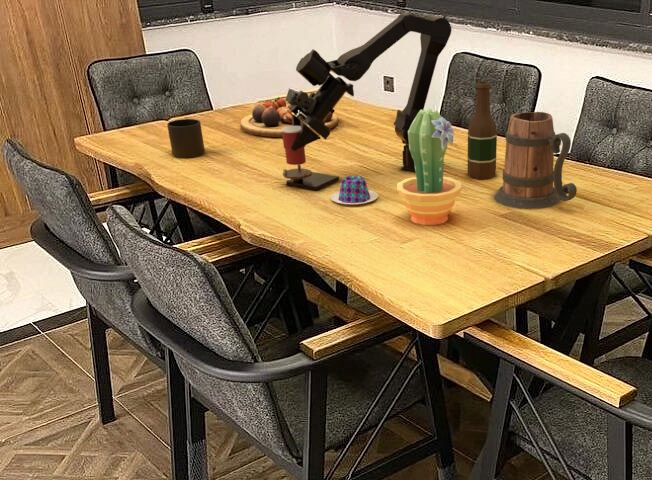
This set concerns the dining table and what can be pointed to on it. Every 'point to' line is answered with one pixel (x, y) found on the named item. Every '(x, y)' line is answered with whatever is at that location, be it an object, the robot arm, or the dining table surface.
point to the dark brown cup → (186, 138)
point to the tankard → (534, 163)
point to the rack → (308, 179)
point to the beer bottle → (482, 137)
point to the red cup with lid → (288, 140)
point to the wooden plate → (274, 119)
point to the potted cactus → (429, 170)
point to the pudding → (354, 191)
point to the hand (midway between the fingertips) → (289, 146)
